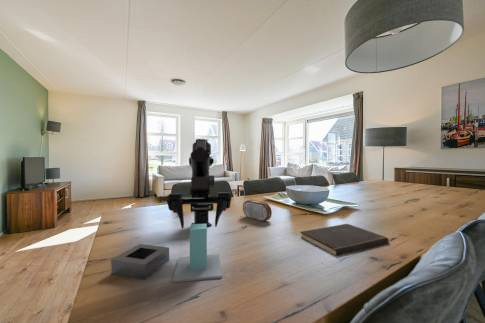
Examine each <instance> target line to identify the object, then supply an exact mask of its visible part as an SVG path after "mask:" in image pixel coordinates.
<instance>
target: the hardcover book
mask: <svg viewBox="0 0 485 323" xmlns="http://www.w3.org/2000/svg"><path fill="white" fill-rule="evenodd" d="M299 234H300V236H301V238H303V239H305V240H307V241H308V242H310V243H311V244H313V245H315V246H317V247H319V248H322V249H323V250H325V251H327V252H329V253H331V254H333V255H334V256H336V257H339V256H342V255H346V254H350V253H351V254H352V253H354V252H358V251H362V250H363V251H364V250H366V249H369V248H375V247H379V246H382V245H387V244H389V242H390V240H389V238H388V237H387V236H385V235H382V234H378V233H376V232H372V231H370V230H367V229H365V228H361V227H358V226H356V225H352V224H349V223H343V224H338V225H332V226H327V227H321V228H315V229H309V230H302V231H300V232H299Z"/></svg>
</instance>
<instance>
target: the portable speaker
mask: <svg viewBox="0 0 485 323" xmlns="http://www.w3.org/2000/svg"><path fill="white" fill-rule="evenodd" d="M242 211H243V214H244V215H245V217H246V218H247V219H252V220H254V221H260V222H266V221H269V220H270V219H271V218H272V214H273V213H272V207H271V206H270V204H268V203H267V202H265V201H261V200H257V199H252V198H251V199H248V200H245V201H244V202H243V204H242Z"/></svg>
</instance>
